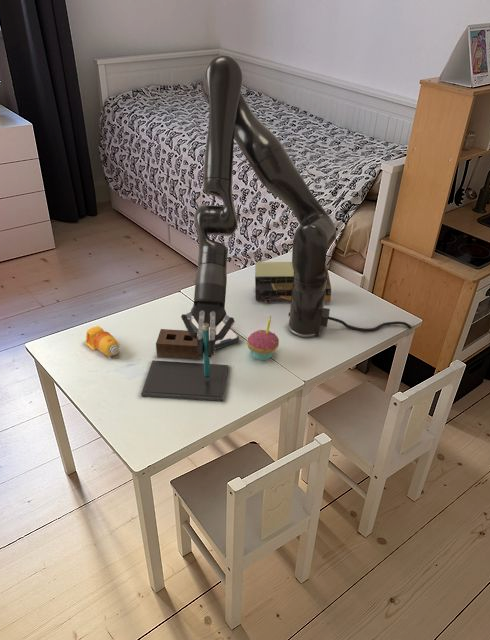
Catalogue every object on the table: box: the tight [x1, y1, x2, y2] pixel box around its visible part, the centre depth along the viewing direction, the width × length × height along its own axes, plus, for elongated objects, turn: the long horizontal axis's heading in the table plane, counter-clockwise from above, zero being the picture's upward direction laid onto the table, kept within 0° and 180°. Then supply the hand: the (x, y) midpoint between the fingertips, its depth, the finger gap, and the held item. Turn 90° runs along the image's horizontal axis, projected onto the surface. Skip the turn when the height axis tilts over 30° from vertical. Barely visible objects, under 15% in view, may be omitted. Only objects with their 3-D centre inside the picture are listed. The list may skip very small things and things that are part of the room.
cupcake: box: [246, 315, 280, 361], centre depth 143 cm, size 9×8×12 cm
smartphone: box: [190, 317, 240, 350], centre depth 154 cm, size 9×2×16 cm
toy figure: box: [85, 325, 120, 357], centre depth 145 cm, size 5×6×12 cm
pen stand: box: [155, 328, 201, 361], centre depth 146 cm, size 12×7×4 cm, turn 87°
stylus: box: [203, 323, 211, 378], centre depth 131 cm, size 2×2×16 cm
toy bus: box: [254, 261, 332, 304], centre depth 168 cm, size 10×23×10 cm, turn 89°
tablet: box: [140, 360, 229, 402], centre depth 137 cm, size 20×14×1 cm
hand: (205, 356), depth 129 cm, fingers closed on stylus, 1 cm apart
